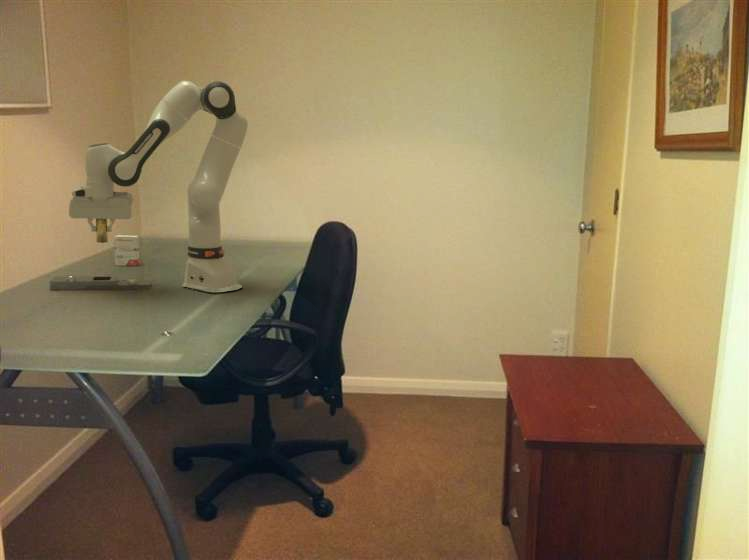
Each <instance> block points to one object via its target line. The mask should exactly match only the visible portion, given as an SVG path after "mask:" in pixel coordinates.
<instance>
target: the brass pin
mask: <svg viewBox="0 0 749 560" xmlns="http://www.w3.org/2000/svg"><path fill="white" fill-rule="evenodd" d="M95 226H96V232H95V234H96V235H95V236H96V242H97V243H102V244H103V243H108V241H109V240H108V236H109V235H108V232H107V226H108V219H95Z"/></svg>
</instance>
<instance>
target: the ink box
mask: <svg viewBox="0 0 749 560" xmlns="http://www.w3.org/2000/svg"><path fill="white" fill-rule="evenodd" d="M113 238H114V239H113V240H114V242H113V244H114V247H113V248H114V265H115V266H116V267H117V266H118V267H119V266H124V267H125V266H126V267H127V266H128V267H137V266H139V265H140V249H139V246H140V245H139V244H140V243H139V235H125V234H124V235H123V234H118V235H115V236H114V237H113Z"/></svg>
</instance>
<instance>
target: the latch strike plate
mask: <svg viewBox="0 0 749 560" xmlns="http://www.w3.org/2000/svg"><path fill="white" fill-rule="evenodd" d="M151 285H152V280H151V279H137V278H128V279H119V275H80V276H79V275H78V276H77V275H75V274H68V275H65V276H64V275H63V276H59V275H58V276H53V277H52V279H51V280H50V281H49V288H50V289H49V290H50V291H87V290H88V291H93V290H94V291H95V290H98V291H99V290H103V291H105V290H112V291H113V290H150V289H151Z"/></svg>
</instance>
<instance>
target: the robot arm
mask: <svg viewBox="0 0 749 560" xmlns="http://www.w3.org/2000/svg"><path fill="white" fill-rule="evenodd" d="M234 93H235V92H234V91H233V88H232V87H231V86H229V84H227V83H225V82H223V81H212V82H210V83H209V84H207V85H206V86H204V87H200V86H197V84H195V83H194V82H191V81H188V80H181V81H179V82H178V83H177V84H176V85H175V86H174V87H172V88H171V89H170V90H169V91H168V92H167V93H166V94H165V95H164V96H163V98H162V99H161V100H160V101H159V103H158V104H156V107H155V109H153V112H152V114H151V116H150V117H149V121H148V122H147V123H148V124H147V126H146V128H145V130H144V131H143V133H142V134H141V135H140V136H139V137H138V139H137V140H136V141H135V143H133V145H132V146H131V147H130V148H129V149H128V150H126V152H124V151H121V150H119V149H117V148H116V147H114V146H112V145H111V144H110V143H106V142H105V143H96V144H92V145H89V146H88V147H87V148H86V149H85V157H84V158H85V161H84V162H85V164H84V165H85V172H86V180H85V186H81V187H78V188H75V189H73V190H72V191H71V196H72V198H70V200H69V204H68V205H69V206H68V215H69V217H70V218H71V219H87V223H88V224H89V227H91V232H94V233H96V225H94V224H93V221H94V219H95V220H96V219H107V220H109V221H110V225H107V233H109V232H112V230H113V226H114V224H115V221H116V220H130V219H131V218H132V217H133V209H132V204H133V196H132V195H131V193H129V192H128V191H124V192H122V191H115V184H116V185H117V186H121V187H130V186H133V185H135V184H136V183H137V182H138V181H139V179H140V177H141V174H142V170H143V168H144V167H143V166H144V164H146V162H147V160H148V159H149V158H150V157H151V156H152V154H153V153H154V152H155V151H156V150H157V148H159V146H160V145H161V144H163V142H164V141H165V142H166V140H169V138H171V137H173V136H175V134H177V133H178V132H180V131H181V130H182V128H184V126H186V124H188V122H190V120H191V119H192V117H193V116H194V115H195V114H196V113H197V112H199V111H200V110H201V111H204V112H206V113H208V114H211V115H213V116H214V117H215V125H214V128H213V130H212V132H211V134H210V135H211V136H210V137H209V139H208V141H207V143H206V144H207V145H206V147H205V149H204V151H203V154H202V157H201V159H200V162H199V165H198V167H197V171H196V173H195V175H194V177H193V178H192V179H191V180H190V182H189V183H188V185H187V212H188V215H187V216H188V217H187V218H188V245H187V250H186V251H187V256H188V259H187V261H186V264H185V272H184V282H183V283H182V285H181V286H183V287H189V288H197V289H204V288H205V289H207V288H212V289H217V288H225V287H230V286H234V285H236V283H237V275H236V271H235V268H232V266H231V265H230V263H229V262H228V261H227V260H226V259H225V257H224V256H225V255H224V254H225V253H224V252H225V251H226V250H224V249H223V246H222V244H221V214H220V203H221V201H222V197H223V195H224V193H225V190H226V187H227V185H228V182H229V179H230V176H231V172H232V170H233V168H234V166H235V163H236V161H237V158H238V156H239V154H240V151H241V148H242V146H243V143H244V141H245V138H246V135H247V130H248V126H249V123H248V122H249V121H248V119H247V118H246V117H245V115H243V114H242V113H241V112H239V111H237V105H236V98H235V94H234ZM183 287H182V288H183Z"/></svg>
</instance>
